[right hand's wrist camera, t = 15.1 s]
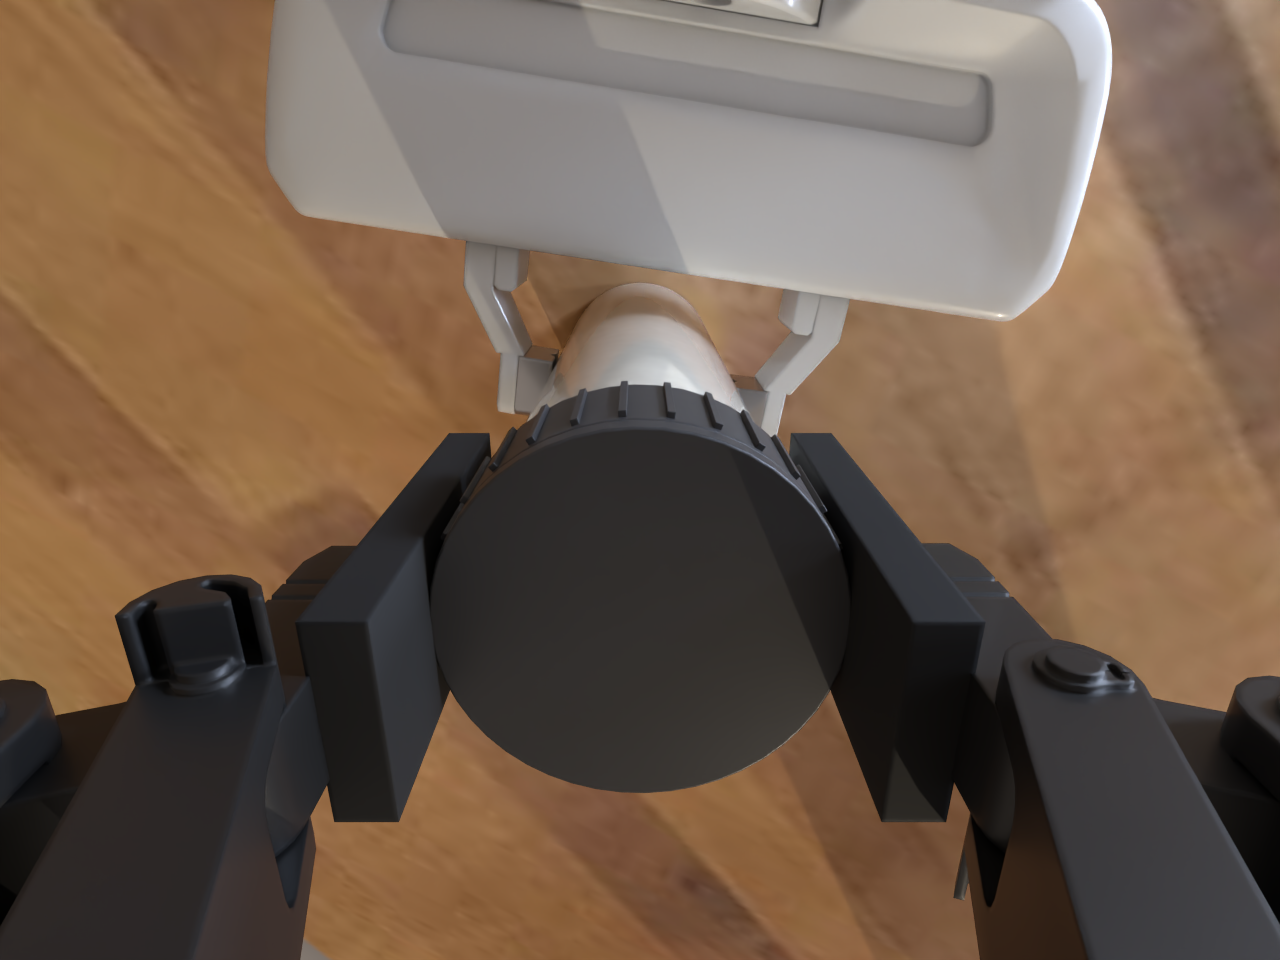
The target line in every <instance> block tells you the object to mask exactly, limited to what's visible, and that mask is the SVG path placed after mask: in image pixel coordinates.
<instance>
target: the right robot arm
mask: <svg viewBox="0 0 1280 960" xmlns="http://www.w3.org/2000/svg"><path fill="white" fill-rule="evenodd" d="M486 456H488V457H490V458H491V448H490V435H489V433H449V434H448V435H447V437H446V438H445V439H444V440H443V441H442V443H441V444H440V445H439V446H438V448H437V449H436V450H435V451H434V452H433V454H432V455H431V456H430V457H429V459H428V460H427V461H426V462H425V463H424V465H423V466H422V467H421V468H420V470H419V471H418V472H417V473H416V474H415V476H414V477H413V478H412V479H411V481H410V482H409V483H408V484H407V485H406V487H405V488H404V489H403V490H402V492H401V493H400V494H399V495H398V496H397V498H396V499H395V500H394V501H393V503H392V504H391V505H390V506H389V507H388V509H387V510H386V511H385V512H384V514H383V515H382V516H381V517H380V518H379V520H378V521H377V522H376V523H375V525H374V526H373V527H372V528H371V529H370V531H369V532H368V533H367V534H366V536H365V537H364V538H363V539H362V540H361V542H360V543H359V544H358V545H357V546H331V547H329V548H327V549H325V550H324V551H322V552H320V553H318V554H316V555H315V556H313V557H311V558H309V559H307V560H306V561H304V562H303V563H302V564H301V565H300V566H299V567H298V568H297V569H296V570H295V571H294V572H293V574H292V575H291V576H290V577H289V578H288V579H287V580H286V584H282V585H281V586H280V588H279V589H278V590H277V591H276V592H275V593H274V594H273V595H272V600H267V601H266V603H265V601H264V596H263V592H262V587H261V585H260V584H258V583H257V582H255V581H254V580H253V579H251V578H248V577H242V576H237V575H208V576H202V577H197V578H192V579H187V580H181V581H177V582H175V583H172V584H169V585H166V586H163V587H160V588H157V589H154V590H152V591H150V592H148V593H146V594H144V595H142V596H140V597H139V598H137V599H135V600H133V601H131V602H129V603H128V604H127V605H126V606H125V607H124V608H123V609H122V610H121V611H119V612H118V613H117V614H116V615H115V618H116V622H117V625H118V628H119V632H120V635H121V638H122V642H123V645H124V648H125V652H126V655H127V658H128V662H129V665H130V668H131V672H132V675H133V678H134V682H135V685H136V686H135V688H134V690H133V691H132V693H131V695H130V697H129V698H128V700H127V702H123V703H119V704H114V705H108V706H103V707H98V708H93V709H87V710H82V711H77V712H71V713H66V714H61V715H56V716H55V714H54V711H53V708H52V705H51V702H50V700H49V697H48V694H47V691H46V689H45V688H43V687H42V686H40V685H39V684H37V683H36V682H34V681H26V680H16V679H10V680H2V681H0V960H300V957H301V950H302V943H303V936H304V929H305V922H306V915H307V908H308V901H309V894H310V887H311V880H312V873H313V866H314V859H315V852H316V845H315V837H314V831H313V827H312V822H311V817H310V816H311V814H312V812H313V810H314V808H315V806H316V804H317V803H318V801H319V799H320V797H321V795H322V793H323V791H324V789H325V788H326V786H327V787H328V792H329V797H330V802H331V807H332V812H333V817H334V822H399V820H400V818H401V815H402V812H403V810H404V807H405V805H406V802H407V800H408V797H409V794H410V792H411V789H412V787H413V784H414V781H415V779H416V776H417V774H418V771H419V769H420V766H421V763H422V761H423V758H424V756H425V753H426V750H427V748H428V745H429V743H430V740H431V738H432V735H433V732H434V730H435V727H436V725H437V722H438V720H439V717H440V714H441V712H442V709H443V707H444V704H445V701H446V699H447V696H448V694H449V691H450V688H449V687H448V685H447V683H446V681H445V679H444V677H443V674H442V672H441V669H440V667H439V664H438V661H437V659H436V655H435V648H434V641H433V633H432V624H431V615H430V606H429V596H430V585H431V580H432V576H433V572H434V567H435V563H436V560H437V557H438V555H439V552H440V550H441V547H442V545H443V542H444V540H442V539H441V536H442V534H443V532H444V530H445V528H446V527H447V525H448V523H449V522H450V520H451V518H452V516H453V515H454V513H455V511H456V510H457V508H458V506H459V505H460V503H461V502H460V499H461V497H462V496H463V494H464V492H465V491H466V489H467V487H468V486H469V484H470V482H471V481H472V479H473V477H474V476H475V474H476V472H477V471H478V469H479V467H480V466H481V464H482V462H483V461H484V459H485V458H486ZM789 456H790V458H791V459H792V461H793V463H794V465H795V466H797V465H800V466H801V468H802V470H803V471H804V473H805V475H806V476H807V478H808V480H809V481H810V483H811V485H812V486H813V488H814V490H815V491H816V493H817V495H818V496H819V498H820V500H821V501H822V503H823V505H824V506H825V508H826V510H827V511H826V512H825V513H824V515H825V516H826V518H827V520H828V522H829V523H830V525H831V527H832V528H833V530H834V532H835V533H836V535H837V537H838V538H839V540H840V542H841V544H842V547H843V550H841V553H842V556H843V559H844V562H845V566H846V569H847V572H848V577H849V584H850V591H851V609H850V619H849V628H848V636H847V644H846V651H845V656H844V659H843V662H842V665H841V668H840V671H839V673H838V675H837V677H836V679H835V681H834V683H833V685H832V688H831V693H832V695H833V698H834V700H835V703H836V706H837V708H838V711H839V713H840V716H841V718H842V721H843V724H844V726H845V729H846V731H847V734H848V736H849V739H850V742H851V744H852V747H853V749H854V752H855V755H856V757H857V760H858V762H859V765H860V767H861V770H862V773H863V775H864V778H865V780H866V783H867V785H868V788H869V791H870V793H871V796H872V798H873V801H874V804H875V806H876V809H877V811H878V814H879V816H880V819H881V822H946V820H947V815H948V810H949V805H950V800H951V795H952V790H953V785H954V783H955V785H956V787H957V788H958V790H959V792H960V794H961V796H962V798H963V800H964V801H965V803H966V805H967V807H968V809H969V811H970V817H969V822H968V827H967V831H966V836H965V841H964V845H963V850H962V855H961V859H960V864H959V869H958V873H957V878H956V883H955V891H954V898H956V899H960V900H964V898H965V894H966V889H967V884H969V885H970V892H971V899H972V906H973V913H974V920H975V927H976V934H977V941H978V948H979V955H980V960H1280V677H1275V676H1262V677H1252V678H1247V679H1245V680H1244V681H1242V682H1241V683H1240V684H1238V685H1237V686H1236V687H1235V690H1234V693H1233V696H1232V699H1231V701H1230V704H1229V707H1228V710H1227V712H1222V711H1217V710H1212V709H1206V708H1201V707H1196V706H1190V705H1185V704H1180V703H1174V702H1169V701H1164V700H1159V699H1155V698H1152V697H1151V695H1150V693H1149V692H1148V690H1147V688H1146V686H1145V685H1144V684H1143V682H1142V681H1141V680H1140V679H1139V678H1138V677H1137V676H1136V675H1135V673H1134V672H1133V671H1132V670H1131V669H1129V668H1128V667H1126V666H1125V665H1123V664H1122V663H1120V662H1118V661H1117V660H1115V659H1114V658H1112V657H1111V656H1109V655H1106V654H1104V653H1101V652H1099V651H1096V650H1094V649H1091V648H1089V647H1087V646H1084V645H1080V644H1075V643H1071V642H1067V641H1062V640H1058V639H1052V638H1051V637H1050V636H1049V635H1048V634H1047V633H1046V632H1045V631H1044V630H1043V628H1042V627H1041V626H1040V625H1039V624H1038V623H1037V622H1036V621H1035V620H1034V619H1033V618H1032V617H1031V616H1030V615H1029V614H1028V612H1027V611H1026V610H1025V609H1024V608H1023V607H1022V606H1021V605H1020V604H1019V603H1018V602H1017V601H1016V600H1015V599H1014V598H1013V597H1009V592H1008V591H1007V590H1006V589H1005V588H1004V587H1003V586H1002V585H1001V584H1000V583H999V582H998V581H995V577H994V576H993V575H992V574H991V573H990V572H989V571H988V570H987V569H986V568H985V567H984V566H983V565H982V563H981V562H980V561H979V560H978V559H976V558H974V557H973V556H971V555H969V554H967V553H965V552H964V551H962V550H960V549H958V548H956V547H955V546H953V545H951V544H949V543H921V542H920V541H919V540H918V539H917V537H916V536H915V535H914V534H913V533H912V531H911V530H910V529H909V528H908V526H907V525H906V524H905V523H904V522H903V520H902V519H901V518H900V517H899V515H898V514H897V513H896V512H895V511H894V509H893V508H892V507H891V506H890V504H889V503H888V502H887V501H886V500H885V498H884V497H883V496H882V495H881V493H880V492H879V491H878V490H877V489H876V487H875V486H874V485H873V484H872V482H871V481H870V480H869V479H868V478H867V476H866V475H865V474H864V473H863V471H862V470H861V469H860V468H859V467H858V465H857V464H856V463H855V462H854V460H853V459H852V458H851V457H850V456H849V454H848V453H847V452H846V451H845V449H844V448H843V447H842V446H841V445H840V443H839V442H838V441H837V440H836V438H835V437H834V436H833V435H832V434H831V433H791V440H790V453H789Z"/></svg>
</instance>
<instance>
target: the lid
mask: <svg viewBox="0 0 1280 960" xmlns="http://www.w3.org/2000/svg"><path fill="white" fill-rule="evenodd" d="M460 502H461V503H460V505H459V506H458V508H457V510H456V511H455V513H454V515H453V516H452V518H451V520H450V522H449V523H448V525H447V527H446V528H445V530H444V532H443V534H442V536H441V539H442V540H444V542H443V545H442V547H441V550H440V552H439V555H438V557H437V560H436V563H435V567H434V572H433V576H432V580H431V585H430V596H429V606H430V615H431V624H432V633H433V641H434V648H435V655H436V659H437V661H438V664H439V667H440V669H441V672H442V674H443V677H444V679H445V681H446V683H447V685H448V687H449V688H450V690H451V692H452V694H453V695H454V697H455V699H456V701H457V702H458V703H459V705H460V706H461V707H462V709H463V710H464V711H465V713H466V714H467V715H468V717H469V718H470V719H471V720H472V721H473V722H474V723H475V724H476V725H477V726H478V727H479V728H480V730H481V731H482V732H483V733H484V734H485V735H486V736H487V737H489V738H490V739H491V740H492V741H494V742H495V743H496V744H497V745H499V746H500V747H501V748H502V749H504V750H505V751H506V752H508V753H509V754H511V755H512V756H514V757H516V758H517V759H519V760H520V761H522V762H524V763H525V764H527V765H529V766H531V767H533V768H535V769H537V770H539V771H541V772H543V773H546V774H548V775H550V776H553V777H556V778H559V779H561V780H564V781H567V782H570V783H573V784H577V785H581V786H586V787H590V788H594V789H600V790H608V791H615V792H631V793H651V792H665V791H674V790H679V789H685V788H691V787H696V786H699V785H703V784H706V783H710V782H713V781H717V780H720V779H722V778H725V777H727V776H730V775H732V774H734V773H737V772H739V771H742V770H744V769H745V768H747V767H749V766H751V765H753V764H755V763H756V762H758V761H760V760H762V759H764V758H765V757H767V756H768V755H769V754H771V753H772V752H774V751H775V750H777V749H778V748H779V747H781V746H782V745H784V744H785V743H786V742H787V741H788V740H789V739H790V738H791V737H792V736H794V735H795V734H796V733H797V732H798V731H799V730H800V729H801V728H802V727H803V726H804V725H805V724H806V723H807V721H808V720H809V719H810V718H811V717H812V716H813V715H814V713H815V712H816V711H817V710H818V708H819V707H820V705H821V704H822V702H823V701H824V699H825V698H826V696H827V695H828V693H829V692H830V690H831V688H832V685H833V683H834V681H835V679H836V677H837V675H838V673H839V671H840V668H841V665H842V662H843V659H844V656H845V651H846V644H847V636H848V628H849V619H850V609H851V591H850V584H849V577H848V572H847V569H846V566H845V562H844V559H843V556H842V553H841V550H843V547H842V544H841V542H840V540H839V538H838V537H837V535H836V533H835V532H834V530H833V528H832V527H831V525H830V523H829V522H828V520H827V518H826V516H825V515H824V513H825V512H826V511H827V510H826V508H825V506H824V505H823V503H822V501H821V500H820V498H819V496H818V495H817V493H816V491H815V490H814V488H813V486H812V485H811V483H810V481H809V480H808V478H807V476H806V475H805V473H804V471H803V470H802V468H801V466H800V465H797V466H795V465H794V463H793V461H792V459H791V458H790V456H789V454H788V453H787V451H786V449H785V447H784V446H783V444H782V442H781V441H780V439H779V438H778V437H777V436H776V435H775V434H774V435H773V436H772V437H770V436H769V434H767V433H766V432H765V431H764V430H763V429H761V428H760V427H759V426H758V425H757V424H755V423H754V422H753V420H752V418H751V416H750V414H749V413H748V412H747V411H745V410H744V409H743V410H742V411H741V413H740V412H738V411H736V410H735V409H733V408H732V407H730V406H728V405H725V404H723V403H721V402H719V401H717V400H714V398H713V395H712V393H709V392H705V394H704V395H701V394H698V393H695V392H691V391H688V390H685V389H679V388H673V387H671V383H669V382H664V384H663V386H661V385H637V384H634V385H628V381H621V385H620V386H612V387H606V388H602V389H597V390H593V391H589V392H587V390H586V388H584V389H580V390H579V392H578V395H576V396H574V397H571V398H568V399H566V400H563V401H561V402H559V403H557V404H555V405H553V406H551V407H549V406H548V405H547V404H545V405H543V406H542V407H541V408H540V410H539V412H538V414H537V415H536V416H535V417H533V418H532V419H530V420H529V421H528V422H526V423H525V424H523V425H522V426H521V427H520V428H519V429H518V430H516V429H515V428H514V427H512V428H511V429H510V430H509V431H508V433H507V435H506V436H505V438H504V440H503V442H502V443H501V445H500V447H499V449H498V451H497V452H496V453H495V454H494V456H493V457H492V458H490V457H488V456H486V458H485V459H484V461H483V462H482V464H481V466H480V467H479V469H478V471H477V472H476V474H475V476H474V477H473V479H472V481H471V482H470V484H469V486H468V487H467V489H466V491H465V492H464V494H463V496H462V497H461V499H460Z"/></svg>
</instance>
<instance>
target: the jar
mask: <svg viewBox="0 0 1280 960" xmlns="http://www.w3.org/2000/svg"><path fill="white" fill-rule="evenodd" d="M621 381H628V385H634V384H637V385H661V386H663V384H664V382H669V383H671V387H673V388H679V389H685V390H688V391H691V392H695V393H698V394H701V395H704V394H705V392H709V393H712V395H713V398H714V400H717V401H719V402H721V403H723V404H725V405H728V406H730V407H732V408H733V409H735V410H736V411H738V412H740V413H741V411H742V410H743V409H744V410H745V411H747V412H748V413H749V411H748V409H747V407H746V405H745V403H744V401H743V399H742V397H741V396H740V394H739V392H738V390H737V388H736V386H735V384H734V382H733V380H732V378H731V376H730V374H729V372H728V370H727V368H726V366H725V364H724V363H723V361H722V359H721V357H720V355H719V353H718V351H717V349H716V347H715V345H714V343H713V341H712V339H711V337H710V335H709V333H708V332H707V330H706V328H705V326H704V324H703V322H702V320H701V318H700V316H699V315H698V313H697V312H696V310H695V309H694V308H693V307H692V306H691V305H690V303H689V302H688V301H686V300H685V299H684V298H683V297H682V296H680V295H679V294H677V293H676V292H674V291H672V290H670V289H668V288H666V287H662V286H659V285H656V284H650V283H630V284H625V285H621V286H617V287H615V288H612V289H610V290H608V291H606V292H605V293H603V294H601V295H600V296H599V297H597V298H596V299H595V300H594V301H593V302H592V303H591V304H589V305H588V307H587V308H586V309H585V310H584V312H583V313H582V315H581V316H580V318H579V320H578V322H577V324H576V326H575V328H574V329H573V331H572V333H571V335H570V337H569V339H568V341H567V343H566V345H565V347H564V349H563V351H562V353H561V355H560V357H559V359H558V361H557V363H556V364H555V366H554V368H553V370H552V372H551V374H550V376H549V378H548V380H547V382H546V384H545V386H544V388H543V390H542V392H541V394H540V396H539V398H538V399H537V401H536V403H535V405H534V407H533V409H532V411H531V413H530V415H529V417H528V419H527V421H526V422H528V421H529V420H530V419H532V418H533V417H535V416H536V415H537V414H538V412H539V410H540V408H541V407H542V406H543V405H545V404H547V405H548V406H549V407H551V406H553V405H555V404H557V403H559V402H561V401H563V400H566V399H568V398H571V397H574V396H576V395H578V392H579V390H580V389H584V388H586V390H587V392H589V391H593V390H597V389H602V388H606V387H612V386H620V385H621ZM749 414H750V413H749ZM750 416H751V415H750ZM751 418H752V417H751ZM752 420H753V419H752ZM753 422H754V421H753Z"/></svg>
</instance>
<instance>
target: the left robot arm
mask: <svg viewBox="0 0 1280 960" xmlns="http://www.w3.org/2000/svg"><path fill="white" fill-rule="evenodd" d="M1111 70H1112V47H1111V39H1110V33H1109V29H1108V25H1107V22H1106V20H1105V17H1104V15H1103V13H1102V11H1101V9H1100V7H1099V6H1098V4H1097V3H1096V2H1095V0H275V4H274V12H273V20H272V28H271V38H270V50H269V61H268V73H267V92H266V119H265V154H266V162H267V166H268V169H269V172H270V174H271V175H272V177H273V179H274V180H275V181H276V183H277V184H278V186H279V187H280V189H281V190H282V192H283V193H284V195H285V196H286V198H287V199H288V200H289V202H290V203H291V204H292V206H293V207H294V208H295V210H296V211H297V212H299V213H300V214H302V215H304V216H307V217H313V218H319V219H326V220H332V221H339V222H346V223H352V224H359V225H365V226H372V227H379V228H385V229H392V230H399V231H405V232H412V233H418V234H425V235H432V236H438V237H445V238H451V239H458V240H465V241H466V252H465V270H464V287H465V289H466V291H467V294H468V296H469V298H470V300H471V302H472V304H473V306H474V308H475V310H476V312H477V314H478V316H479V318H480V320H481V322H482V324H483V326H484V328H485V330H486V333H487V335H488V337H489V339H490V341H491V343H492V345H493V347H494V349H495V351H496V352H497V353H501V356H500V370H499V383H498V396H497V408H498V411H500V412H505V413H510V414H521V415H530V413H531V411H532V409H533V407H534V405H535V403H536V401H537V399H538V398H539V396H540V394H541V392H542V390H543V388H544V386H545V384H546V382H547V380H548V378H549V376H550V374H551V372H552V370H553V368H554V366H555V364H556V363H557V361H558V356H559V350H558V349H552V348H546V347H540V346H534V345H532V341H531V339H530V336H529V334H528V332H527V329H526V327H525V325H524V322H523V320H522V318H521V315H520V313H519V311H518V308H517V306H516V304H515V301H514V299H513V297H512V294H511V292H512V291H513V290H514V289H516V288H517V287H518V286H520V285H521V284H523V283H524V282H525V281H527V274H528V264H529V254H530V250H531V251H537V252H544V253H550V254H557V255H564V256H570V257H577V258H583V259H590V260H597V261H603V262H610V263H617V264H623V265H630V266H636V267H643V268H650V269H656V270H663V271H669V272H676V273H683V274H689V275H696V276H702V277H709V278H716V279H722V280H729V281H735V282H742V283H749V284H755V285H762V286H768V287H775V288H782V289H783V294H782V299H781V305H780V310H779V315H778V319H779V320H780V322H781V323H783V324H784V325H785V326H786V327H787V328H788V329H790V330H791V332H790V334H789V335H788V336H787V337H786V338H785V340H784V341H783V342H782V343H781V344H780V346H779V347H778V348H777V349H776V350H775V352H774V353H773V354H772V355H771V357H770V358H769V359H768V360H767V361H766V363H765V364H764V365H763V366H762V367H761V369H760V370H759V371H758V372H757V373H756V375H755V377H748V376H739V375H731V374H730V376H731V378H732V380H733V382H734V384H735V386H736V388H737V390H738V392H739V394H740V396H741V397H742V399H743V401H744V403H745V405H746V407H747V409H748V411H749V413H750V415H751V417H752V419H753V421H754V423H755V424H757V425H758V426H759V427H760V428H761V429H763V430H764V431H765V432H766V433H767V434H769V436H770V437H772V436H773V435H774V434H775V435H776V436H777V432H778V428H779V423H780V419H781V414H782V410H783V406H784V401H785V397H786V394H788V395H791V394H792V392H793V391H794V390H795V389H796V388H797V387H798V386H799V385H800V384H801V383H802V382H803V381H804V379H805V378H806V377H807V376H808V375H809V374H810V373H811V372H812V371H813V370H814V369H815V368H816V366H817V365H818V364H819V363H820V362H821V361H822V360H823V359H824V358H825V357H826V356H827V355H828V353H829V352H830V351H831V350H832V349H833V348H834V347H835V346H836V345H837V344H838V343H839V341H840V337H841V333H842V329H843V325H844V321H845V317H846V313H847V309H848V305H849V301H850V299H854V300H861V301H868V302H874V303H881V304H887V305H894V306H901V307H907V308H914V309H920V310H927V311H934V312H940V313H947V314H953V315H960V316H967V317H973V318H980V319H987V320H994V321H1000V322H1005V321H1010V320H1012V319H1014V318H1015V317H1017V316H1018V315H1020V314H1021V313H1022V312H1024V311H1025V310H1026V309H1027V308H1028V307H1030V306H1031V305H1032V304H1033V303H1034V302H1035V301H1036V300H1038V299H1039V298H1040V297H1041V296H1042V295H1043V294H1045V293H1046V292H1047V291H1048V290H1049V289H1050V287H1051V286H1052V285H1053V283H1054V281H1055V279H1056V277H1057V275H1058V273H1059V271H1060V269H1061V266H1062V263H1063V261H1064V258H1065V255H1066V253H1067V250H1068V247H1069V244H1070V241H1071V238H1072V235H1073V232H1074V228H1075V225H1076V222H1077V219H1078V216H1079V212H1080V209H1081V206H1082V202H1083V199H1084V195H1085V192H1086V188H1087V185H1088V181H1089V177H1090V173H1091V169H1092V165H1093V161H1094V157H1095V153H1096V149H1097V146H1098V141H1099V137H1100V132H1101V128H1102V124H1103V119H1104V115H1105V110H1106V105H1107V100H1108V95H1109V88H1110V81H1111Z"/></svg>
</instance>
